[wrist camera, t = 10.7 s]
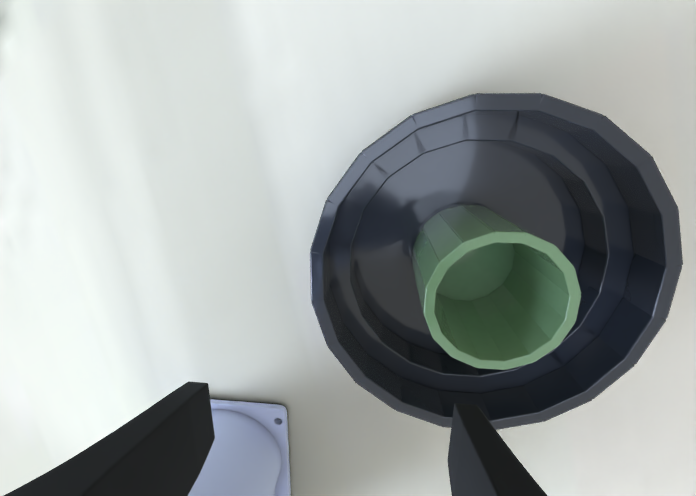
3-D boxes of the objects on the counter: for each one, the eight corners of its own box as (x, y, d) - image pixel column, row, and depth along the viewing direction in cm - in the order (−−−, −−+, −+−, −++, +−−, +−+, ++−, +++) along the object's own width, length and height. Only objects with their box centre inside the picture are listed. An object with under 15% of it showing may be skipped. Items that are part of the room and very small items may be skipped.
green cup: (510, 305, 19) (565, 374, 13) (408, 300, 19) (419, 364, 14) (525, 205, 18) (594, 234, 12) (415, 202, 18) (429, 229, 12)
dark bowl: (579, 380, 20) (632, 442, 16) (327, 363, 22) (313, 416, 18) (641, 106, 16) (733, 92, 12) (324, 106, 18) (306, 93, 13)
